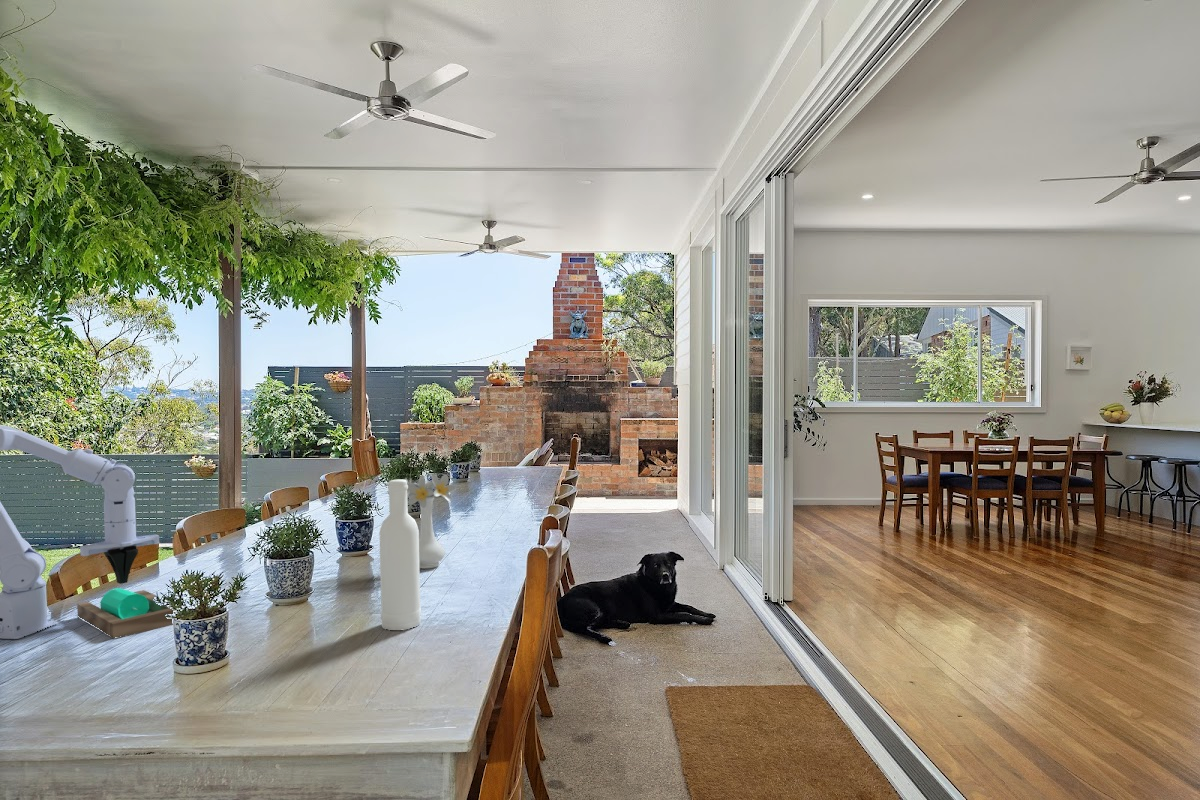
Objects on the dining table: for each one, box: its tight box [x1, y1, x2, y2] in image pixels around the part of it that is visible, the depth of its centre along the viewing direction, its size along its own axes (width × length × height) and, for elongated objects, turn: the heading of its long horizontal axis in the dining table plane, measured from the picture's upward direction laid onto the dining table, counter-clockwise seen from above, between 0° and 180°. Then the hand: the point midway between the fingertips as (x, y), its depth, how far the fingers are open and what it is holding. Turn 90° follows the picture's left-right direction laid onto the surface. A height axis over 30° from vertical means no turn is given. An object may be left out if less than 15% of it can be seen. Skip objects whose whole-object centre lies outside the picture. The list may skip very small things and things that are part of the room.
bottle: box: [378, 478, 422, 631], centre depth 151 cm, size 8×8×30 cm
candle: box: [100, 587, 149, 619], centre depth 157 cm, size 6×6×12 cm
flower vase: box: [387, 473, 458, 570], centre depth 198 cm, size 13×18×25 cm
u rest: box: [76, 589, 173, 639], centre depth 157 cm, size 22×13×3 cm, turn 51°
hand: (122, 582), depth 159 cm, fingers closed
